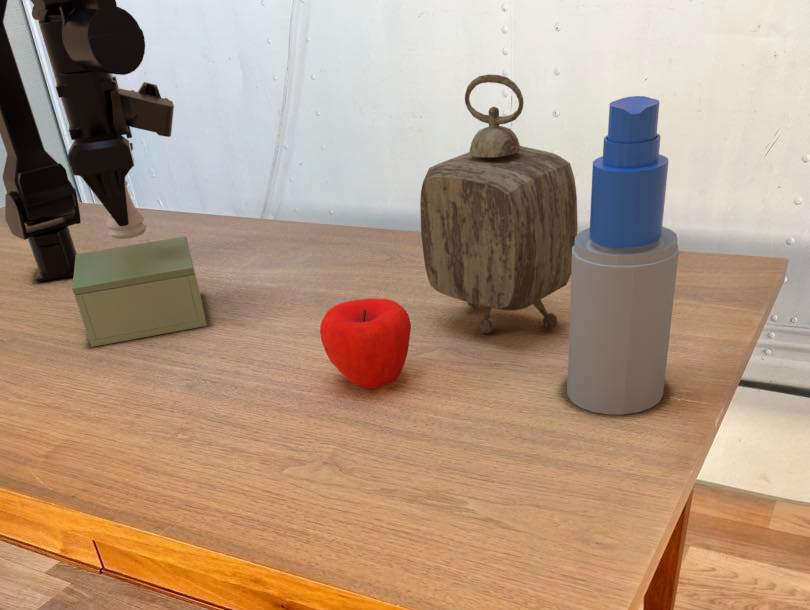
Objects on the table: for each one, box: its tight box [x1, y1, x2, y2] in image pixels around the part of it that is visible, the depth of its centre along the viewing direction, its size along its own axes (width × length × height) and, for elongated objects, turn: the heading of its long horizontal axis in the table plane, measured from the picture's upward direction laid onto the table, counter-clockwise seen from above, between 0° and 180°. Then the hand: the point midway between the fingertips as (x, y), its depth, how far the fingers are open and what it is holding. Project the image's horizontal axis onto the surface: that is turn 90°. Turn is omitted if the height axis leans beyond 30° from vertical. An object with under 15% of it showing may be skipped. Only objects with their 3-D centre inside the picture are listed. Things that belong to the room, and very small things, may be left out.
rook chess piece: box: [106, 180, 147, 240], centre depth 97 cm, size 4×4×8 cm
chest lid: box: [71, 235, 195, 296], centre depth 101 cm, size 11×14×1 cm
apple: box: [319, 298, 412, 389], centre depth 84 cm, size 9×9×8 cm
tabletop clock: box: [419, 74, 579, 335], centre depth 87 cm, size 14×9×25 cm, turn 47°
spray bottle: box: [566, 95, 680, 416], centre depth 73 cm, size 9×9×25 cm
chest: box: [74, 249, 207, 348], centre depth 103 cm, size 11×14×6 cm
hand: (123, 220), depth 99 cm, fingers closed on rook chess piece, 4 cm apart
